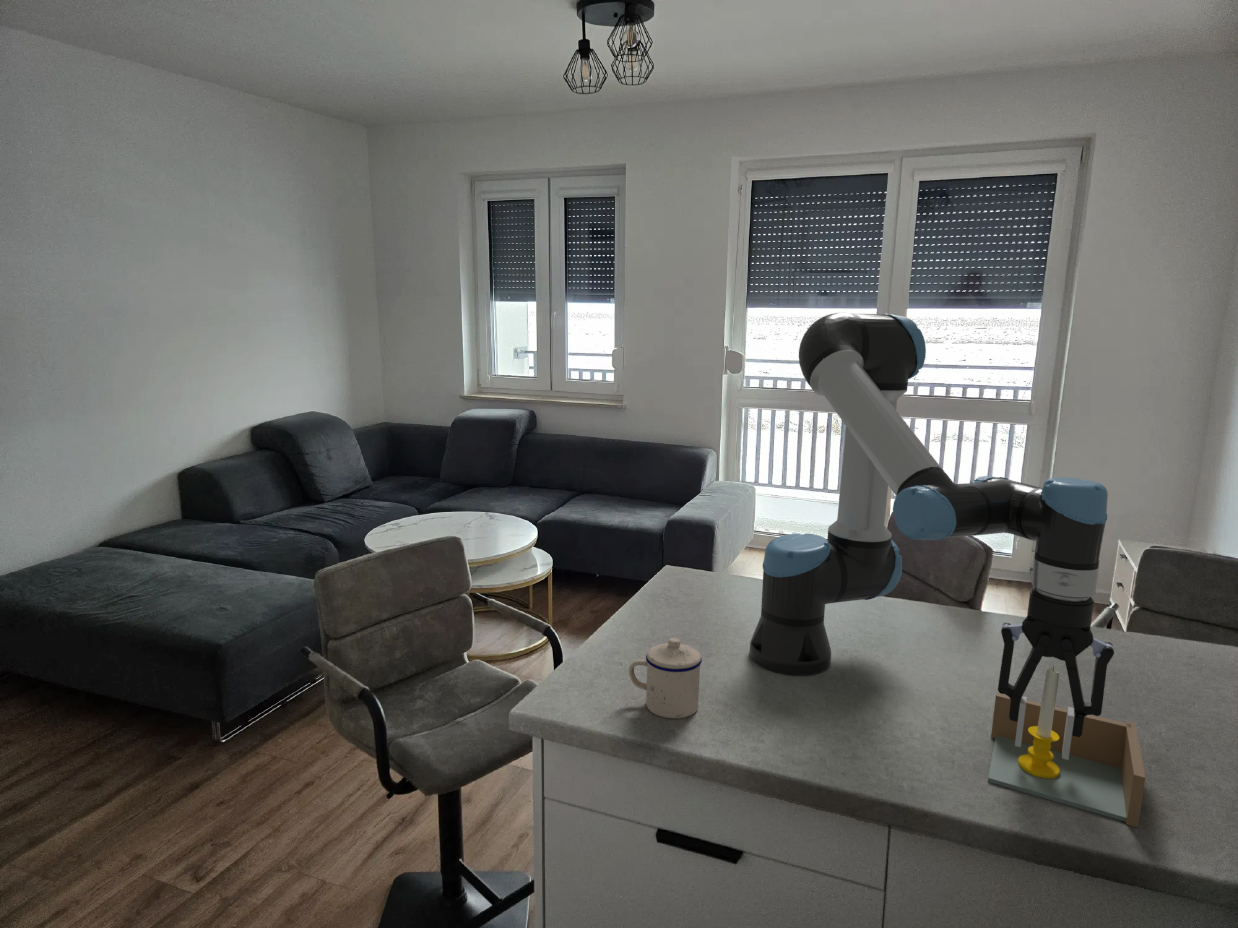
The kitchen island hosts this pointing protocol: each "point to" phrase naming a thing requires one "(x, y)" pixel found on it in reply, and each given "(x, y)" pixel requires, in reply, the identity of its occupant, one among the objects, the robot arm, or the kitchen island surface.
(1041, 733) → the candle
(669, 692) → the teacup with lid
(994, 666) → the kitchen island surface
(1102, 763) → the open room model
